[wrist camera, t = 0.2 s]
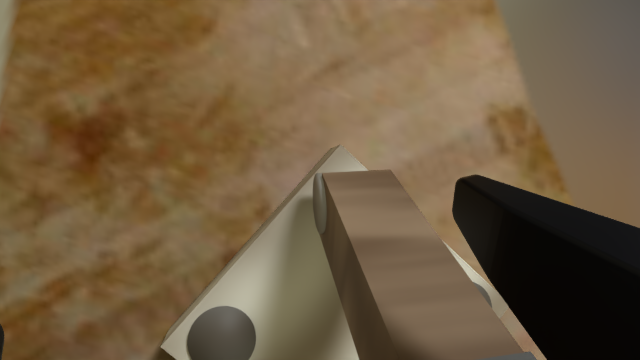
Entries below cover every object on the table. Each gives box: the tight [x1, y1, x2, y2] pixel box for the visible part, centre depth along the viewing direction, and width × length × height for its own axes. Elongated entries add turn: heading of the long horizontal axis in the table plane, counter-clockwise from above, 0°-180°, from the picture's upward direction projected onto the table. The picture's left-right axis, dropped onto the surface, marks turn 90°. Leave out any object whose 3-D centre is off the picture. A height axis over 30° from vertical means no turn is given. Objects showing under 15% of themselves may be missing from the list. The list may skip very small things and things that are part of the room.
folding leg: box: [313, 170, 537, 360], centre depth 15 cm, size 3×3×12 cm
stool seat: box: [161, 144, 508, 360], centre depth 22 cm, size 13×13×3 cm
